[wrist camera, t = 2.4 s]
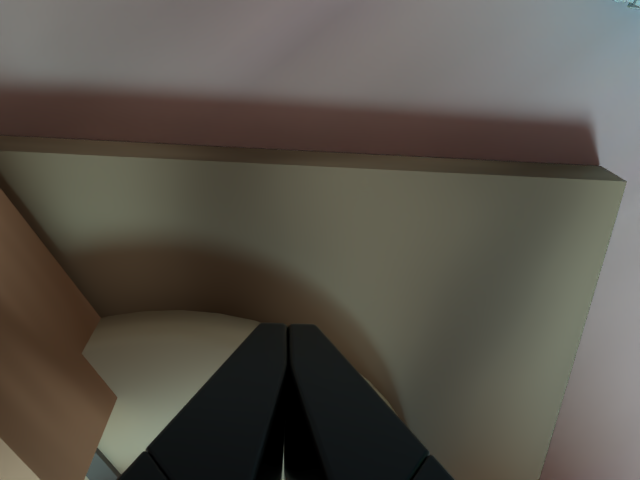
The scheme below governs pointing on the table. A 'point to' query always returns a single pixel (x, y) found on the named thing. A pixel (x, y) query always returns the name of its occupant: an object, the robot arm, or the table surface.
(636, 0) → the chart
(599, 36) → the table surface
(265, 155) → the beige square tray
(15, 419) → the flange plate
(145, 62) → the table surface
